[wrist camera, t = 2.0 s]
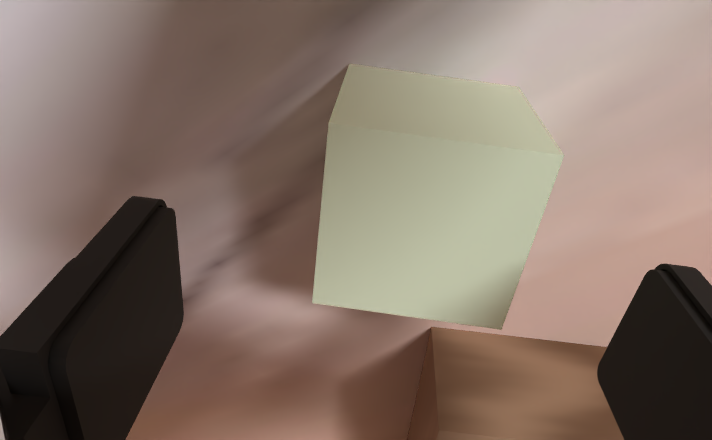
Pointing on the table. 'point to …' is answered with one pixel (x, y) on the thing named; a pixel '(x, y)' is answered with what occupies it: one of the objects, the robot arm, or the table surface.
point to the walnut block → (510, 390)
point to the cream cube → (430, 196)
